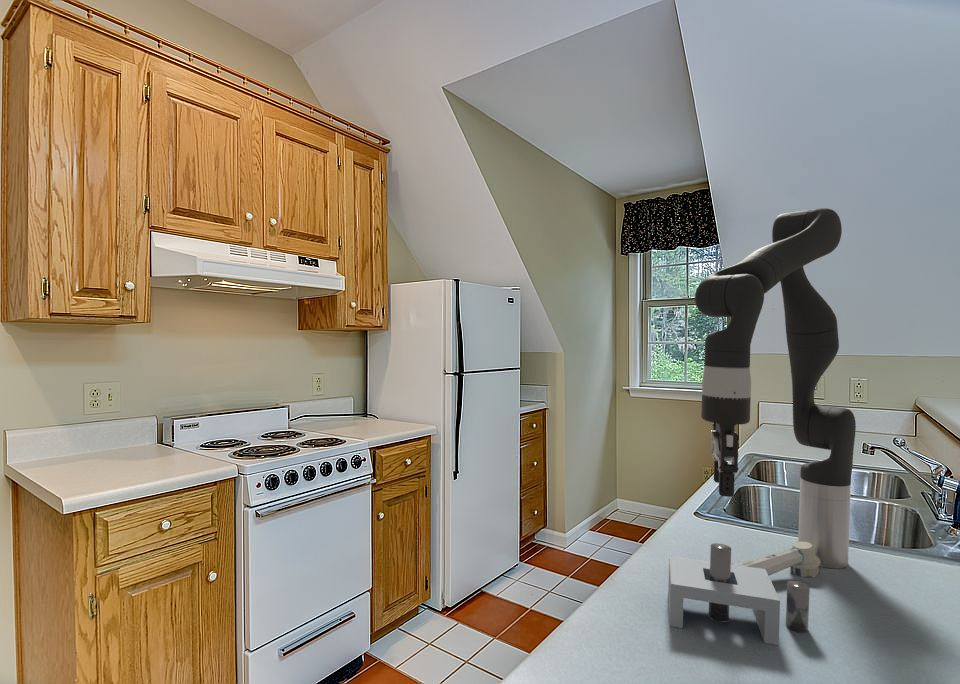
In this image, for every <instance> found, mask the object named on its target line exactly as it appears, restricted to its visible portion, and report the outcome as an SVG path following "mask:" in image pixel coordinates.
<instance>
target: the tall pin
mask: <svg viewBox="0 0 960 684" xmlns="http://www.w3.org/2000/svg"><path fill="white" fill-rule="evenodd" d="M709 556H710V558H709V561H710V580H709V581H714V582H721V583H728V584H730V573H731V564H732V548H731V547H730V546H729V545H727V544H724V543H717V542H716V543H711V544H710V554H709ZM708 617H709V618H710V619H711V620H713V621H716V622H719V623H720V622H721V623H725V622H728V621H729V620H730V605H724V604H718V603H712V602H708Z"/></svg>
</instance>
